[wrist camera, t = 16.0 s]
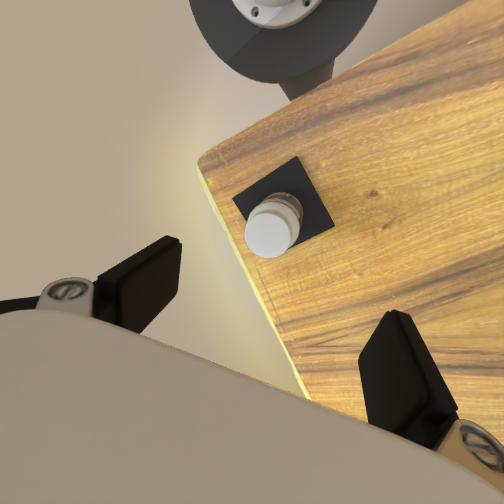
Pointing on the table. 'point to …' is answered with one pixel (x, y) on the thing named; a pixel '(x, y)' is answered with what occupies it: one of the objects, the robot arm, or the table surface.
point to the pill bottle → (274, 225)
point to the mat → (296, 184)
